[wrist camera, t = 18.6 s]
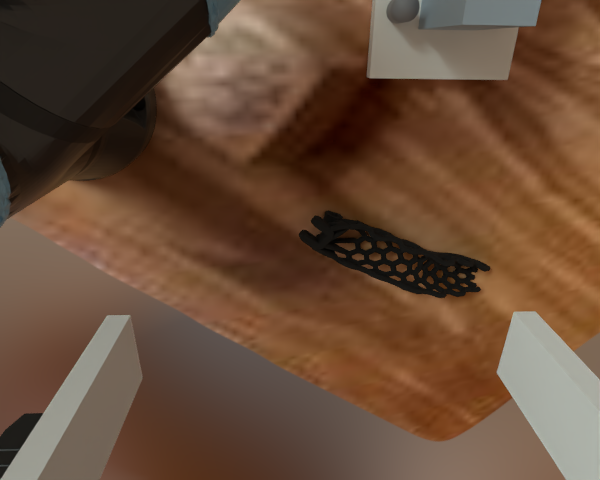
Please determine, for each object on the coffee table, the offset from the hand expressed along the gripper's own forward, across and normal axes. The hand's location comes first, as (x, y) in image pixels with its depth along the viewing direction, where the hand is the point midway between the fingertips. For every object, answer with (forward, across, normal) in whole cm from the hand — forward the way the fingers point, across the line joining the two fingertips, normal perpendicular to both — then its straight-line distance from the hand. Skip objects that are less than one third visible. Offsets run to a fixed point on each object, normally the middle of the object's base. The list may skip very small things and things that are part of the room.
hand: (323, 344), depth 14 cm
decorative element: (+31, -11, +11) cm, 35 cm away
